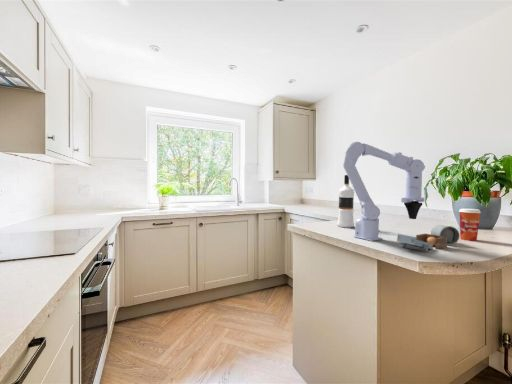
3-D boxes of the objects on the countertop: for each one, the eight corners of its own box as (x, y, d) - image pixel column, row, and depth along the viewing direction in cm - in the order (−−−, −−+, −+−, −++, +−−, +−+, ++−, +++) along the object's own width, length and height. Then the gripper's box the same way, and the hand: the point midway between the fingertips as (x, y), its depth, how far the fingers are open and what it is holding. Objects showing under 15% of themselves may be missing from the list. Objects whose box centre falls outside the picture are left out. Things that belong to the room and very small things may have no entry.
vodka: (351, 228, 136) (353, 174, 135) (335, 226, 141) (336, 174, 140) (355, 226, 143) (357, 175, 142) (339, 224, 149) (340, 175, 148)
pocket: (415, 244, 101) (416, 235, 101) (424, 242, 104) (425, 233, 104) (438, 249, 94) (438, 238, 94) (446, 247, 97) (447, 237, 97)
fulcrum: (402, 247, 96) (402, 240, 96) (404, 246, 97) (405, 240, 97) (425, 252, 89) (426, 245, 89) (428, 251, 90) (428, 244, 90)
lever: (382, 238, 97) (384, 231, 97) (402, 243, 104) (403, 236, 104) (414, 245, 87) (415, 237, 87) (433, 249, 94) (434, 242, 94)
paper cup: (460, 240, 110) (461, 209, 110) (455, 237, 117) (456, 207, 116) (482, 242, 106) (484, 210, 106) (477, 238, 113) (478, 208, 113)
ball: (430, 239, 102) (426, 246, 101) (427, 234, 101) (423, 240, 100) (440, 241, 99) (436, 248, 98) (437, 235, 98) (433, 242, 96)
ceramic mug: (446, 240, 109) (447, 223, 109) (459, 245, 101) (460, 226, 101) (421, 240, 110) (421, 223, 110) (432, 244, 102) (432, 226, 102)
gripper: (414, 187, 99) (413, 221, 99) (432, 187, 106) (431, 219, 106) (396, 187, 105) (395, 218, 105) (415, 187, 112) (414, 216, 112)
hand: (412, 218), depth 106 cm, fingers closed
